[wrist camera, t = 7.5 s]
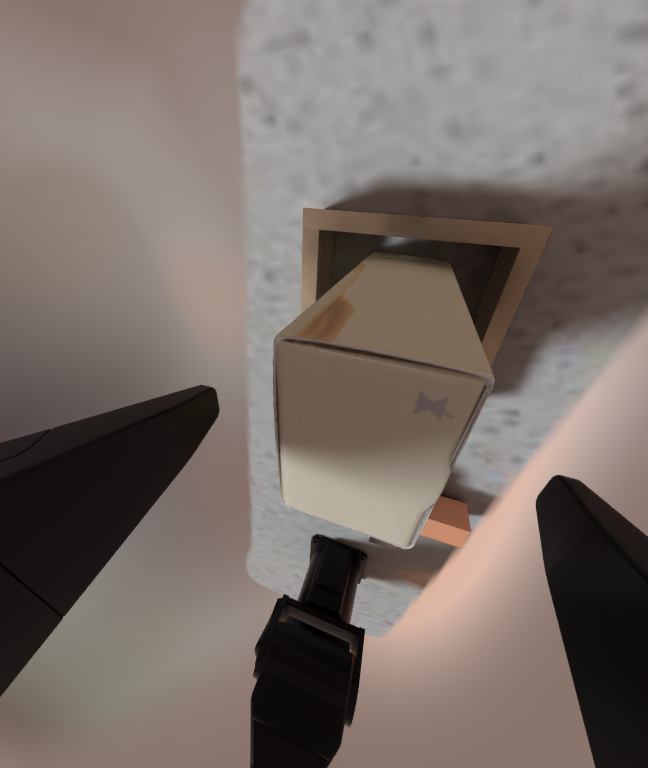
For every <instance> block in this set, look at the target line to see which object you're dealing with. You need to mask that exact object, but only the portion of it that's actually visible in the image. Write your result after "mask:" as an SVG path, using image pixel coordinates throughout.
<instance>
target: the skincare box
mask: <svg viewBox="0 0 648 768" xmlns="http://www.w3.org/2000/svg"><path fill="white" fill-rule="evenodd" d="M494 382H495V378H494V375H493V372H492V370H491V367H490V364H489V362H488V359H487V357H486V355H485V352H484V350H483V347H482V344H481V342H480V339H479V336H478V334H477V331H476V329H475V326H474V324H473V321H472V318H471V316H470V313H469V311H468V308H467V305H466V303H465V300H464V298H463V295H462V293H461V290H460V287H459V285H458V282H457V280H456V277H455V274H454V272H453V269H452V267H451V264H450V262H448V261H443V260H437V259H430V258H423V257H416V256H409V255H400V254H390V253H376V252H374V253H372V254H370V255H369V256H368V257H367V258H366V259H365V260H363V261H362V262H361V263H360V264H359V265H358V266H357V267H356V268H354V269H353V270H352V271H351V272H350V273H348V274H347V275H346V276H345V277H344V278H343V279H342V280H340V281H339V282H338V283H337V284H336V285H334V286H333V287H332V288H331V289H330V290H329V291H328V292H326V293H325V294H324V295H323V296H322V297H321V298H320V299H319V300H317V301H316V302H315V303H314V304H313V305H312V306H310V307H309V308H308V309H307V310H306V311H305V312H303V313H302V314H301V315H300V316H299V317H298V318H296V319H295V320H294V321H293V322H292V323H291V324H290V325H288V326H287V327H286V328H285V329H283V330H282V331H281V332H280V333H278V334H277V336H276V337H275V338H274V357H273V396H274V403H273V405H274V421H275V438H276V453H277V466H278V477H279V487H280V497H281V503H282V504H283V505H284V506H287V507H289V508H293V509H296V510H299V511H302V512H304V513H307V514H310V515H312V516H315V517H318V518H321V519H323V520H327V521H329V522H332V523H334V524H337V525H340V526H343V527H346V528H348V529H351V530H354V531H356V532H359V533H362V534H365V535H367V536H370V537H373V538H375V539H378V540H381V541H384V542H386V543H389V544H392V545H394V546H397V547H400V548H402V549H410V548H413V546H414V545H415V543H416V541H417V539H418V537H419V535H420V533H421V531H422V529H423V527H424V525H425V523H426V521H427V519H428V517H429V515H430V513H431V511H432V509H433V507H434V506H435V504H436V502H437V500H438V499H439V497H440V495H441V493H442V491H443V489H444V487H445V485H446V483H447V480H448V478H449V476H450V474H451V471H452V469H453V467H454V465H455V462H456V460H457V458H458V456H459V454H460V453H461V451H462V449H463V447H464V445H465V443H466V441H467V438H468V436H469V434H470V432H471V430H472V428H473V426H474V424H475V422H476V420H477V418H478V416H479V414H480V412H481V409H482V407H483V405H484V403H485V401H486V399H487V397H488V395H489V393H490V392H491V390H492V389H493V385H494Z"/></svg>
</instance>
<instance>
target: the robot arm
mask: <svg viewBox="0 0 648 768" xmlns="http://www.w3.org/2000/svg"><path fill="white" fill-rule="evenodd" d="M218 415H219V404H218V398H217V393H216V390H215V389H214V388H213V387H209V386H206V385H199V386H195V387H192V388H188V389H185V390H182V391H179V392H175V393H172V394H168V395H164V396H161V397H157V398H154V399H151V400H147V401H144V402H140V403H137V404H134V405H130V406H127V407H123V408H120V409H116V410H113V411H109V412H106V413H103V414H99V415H96V416H92V417H89V418H85V419H82V420H79V421H75V422H72V423H68V424H65V425H61V426H58V427H55V428H53V429H47V430H44V431H41V432H37V433H34V434H30V435H27V436H24V437H20V438H16V439H13V440H9V441H5V442H2V443H0V697H1V695H2V694H3V693H4V692H5V690H6V689H7V688H8V687H9V685H10V684H11V683H12V682H13V680H14V679H15V678H16V677H17V675H18V674H19V673H20V672H21V670H22V669H23V668H24V667H25V665H26V664H27V663H28V662H29V660H30V659H31V658H32V657H33V655H34V654H35V653H36V652H37V650H38V649H39V648H40V647H41V645H42V644H43V643H44V642H45V640H46V639H47V638H48V637H49V635H50V634H51V633H52V632H53V630H54V629H55V628H56V627H57V625H58V624H59V623H60V622H61V620H62V619H63V616H65V615H66V614H67V613H68V611H69V610H70V609H71V607H72V606H73V605H74V604H75V602H76V601H77V600H78V599H79V597H80V596H81V595H82V594H83V592H84V591H85V590H86V589H87V587H88V586H89V585H90V584H91V582H92V581H93V580H94V579H95V577H96V576H97V575H98V574H99V572H100V571H101V570H102V569H103V567H104V566H105V565H106V563H107V562H108V561H109V560H110V559H111V557H112V556H113V555H114V554H115V552H116V551H117V550H118V549H119V547H120V546H121V545H122V544H123V542H124V541H125V540H126V539H127V537H128V536H129V535H130V534H131V532H132V531H133V530H134V529H135V527H136V526H137V525H138V524H139V522H140V521H141V520H142V519H143V517H144V516H145V515H146V513H147V512H148V511H149V509H151V507H152V506H153V505H154V504H155V502H156V501H157V500H158V499H159V497H160V496H161V495H162V493H163V492H164V491H165V490H166V489H167V487H168V486H169V485H170V484H171V482H172V481H173V480H174V478H175V477H176V476H177V475H178V474H179V472H180V471H181V470H182V469H183V467H184V466H185V465H186V463H187V462H188V461H189V460H190V458H191V457H192V455H193V454H194V452H195V451H196V450H197V448H198V446H199V445H200V443H201V442H202V440H203V439H204V437H205V435H206V434H207V433H208V431H209V429H210V428H211V426H212V425H213V423H214V422H215V420H216V419H217V417H218ZM536 511H537V518H538V525H539V532H540V539H541V546H542V553H543V560H544V566H545V572H546V576H547V581H548V585H549V589H550V593H551V596H552V601H553V605H554V608H555V612H556V616H557V620H558V624H559V628H560V631H561V636H562V640H563V643H564V647H565V651H566V655H567V659H568V663H569V667H570V671H571V674H572V678H573V682H574V686H575V690H576V694H577V698H578V702H579V705H580V710H581V713H582V717H583V721H584V725H585V728H586V732H587V736H588V740H589V744H590V748H591V752H592V756H593V760H594V764H595V767H596V768H648V536H646V535H645V534H644V533H643V532H641V531H640V530H639V529H638V528H637V527H635V526H634V525H633V524H632V523H630V522H629V521H628V520H627V519H626V518H625V517H623V516H622V515H621V514H620V513H618V512H617V511H616V510H615V509H614V508H612V507H611V506H610V505H609V504H608V503H606V502H605V501H604V500H603V499H602V498H600V497H599V496H598V495H597V494H595V493H594V492H593V491H592V490H591V489H589V488H588V487H587V486H586V485H585V484H583V483H582V482H581V481H579V480H577V479H574V478H570V477H565V476H562V475H556V476H554V477H552V478H551V480H550V481H549V482H548V484H547V485H546V486H545V487H544V489H543V490H542V491H541V492H540V494H539V495H538V497H537V500H536ZM366 561H367V555H366V554H365V553H362V552H360V551H357V550H354V549H351V548H348V547H346V546H343V545H340V544H337V543H335V542H332V541H329V540H326V539H323V538H321V537H318V536H313V537H312V540H311V552H310V565H309V568H308V571H307V574H306V577H305V580H304V583H303V586H302V589H301V592H300V595H299V598H298V601H297V600H294V599H292V598H290V597H289V596H288V595H286V594H284V595H283V598H278V600H277V602H276V605H275V607H274V610H273V613H272V615H271V617H270V619H269V621H268V623H267V625H266V627H265V629H264V631H263V633H262V635H261V637H260V638H259V640H258V643H257V644H256V647H255V654H256V662H255V669H254V674H253V677H254V678H256V679H257V682H256V685H255V688H254V690H253V693H252V697H251V759H250V761H251V762H250V768H328V767H329V766H330V764H331V762H332V761H333V759H334V757H335V755H336V753H337V751H338V749H339V747H340V745H341V741H342V735H343V729H344V724H345V725H347V726H349V727H350V726H351V723H352V720H353V716H354V711H355V706H356V701H357V694H358V688H359V680H360V671H361V662H362V652H363V643H364V634H365V629H363V628H361V627H359V628H358V627H356V626H354V625H351V624H350V621H351V615H352V610H353V605H354V599H355V594H356V589H357V584H359V583H360V582H361V578H362V575H363V571H364V568H365V565H366ZM285 620H286V621H285ZM350 650H351V652H350Z"/></svg>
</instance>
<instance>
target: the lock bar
mask: <svg viewBox="0 0 648 768" xmlns="http://www.w3.org/2000/svg"><path fill="white" fill-rule="evenodd" d="M470 533H471V529H470V522H469V515H468V508H467V504H466V503H463V502H459V501H456V500H452V499H449V498H446V497H442V496H440V497H439V499H438V500H437V502H436V504H435V506H434V507H433V509H432V511H431V513H430V515H429V517H428V519H427V521H426V523H425V525H424V527H423V529H422V531H421V533H420V535H423V536H426V537H429V538H432V539H435V540H438V541H441V542H444V543H447V544H450V545H453V546H456V547H459V548H461V547H462V545H463V544H464V542H465V541H466V539H467V538H468V536H469V534H470Z"/></svg>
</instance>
